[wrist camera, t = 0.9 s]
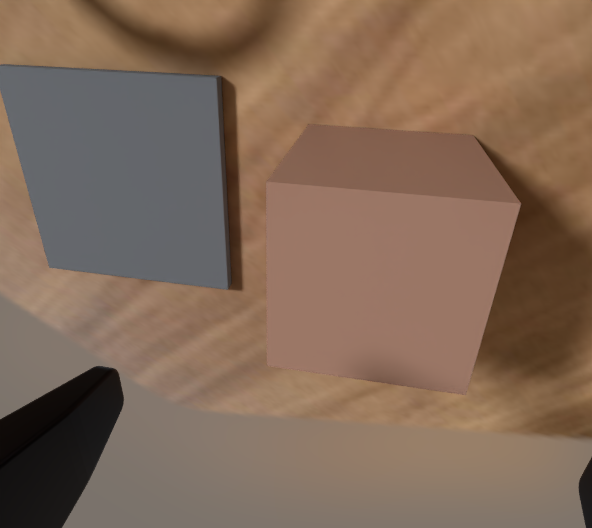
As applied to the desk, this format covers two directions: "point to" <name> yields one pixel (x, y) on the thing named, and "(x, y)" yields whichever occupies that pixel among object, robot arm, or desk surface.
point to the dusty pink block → (384, 255)
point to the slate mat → (124, 170)
